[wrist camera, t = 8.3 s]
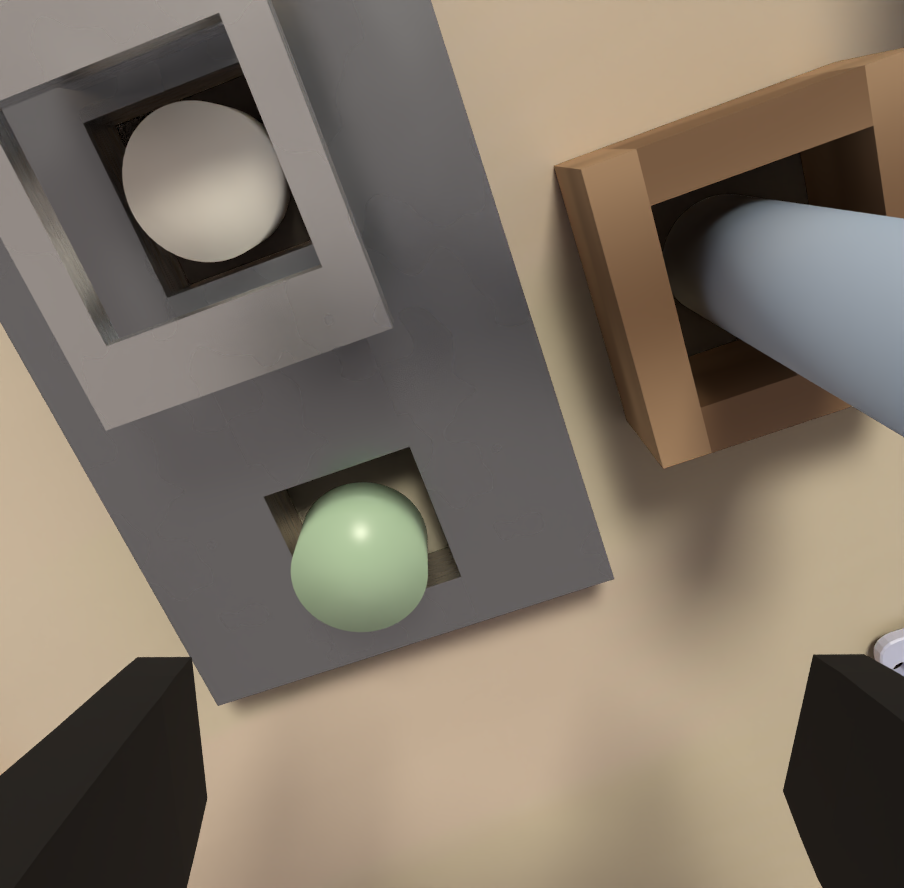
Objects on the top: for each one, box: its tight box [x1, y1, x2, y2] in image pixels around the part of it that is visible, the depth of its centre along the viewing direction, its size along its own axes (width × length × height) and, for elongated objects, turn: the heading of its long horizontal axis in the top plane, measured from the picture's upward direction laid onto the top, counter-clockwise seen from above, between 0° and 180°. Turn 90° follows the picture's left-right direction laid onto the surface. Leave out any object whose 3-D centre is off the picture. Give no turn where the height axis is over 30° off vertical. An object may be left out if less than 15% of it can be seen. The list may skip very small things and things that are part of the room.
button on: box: [291, 482, 428, 632], centre depth 17 cm, size 3×3×2 cm
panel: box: [0, 0, 614, 706], centre depth 16 cm, size 14×10×5 cm
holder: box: [554, 48, 904, 469], centre depth 16 cm, size 6×6×3 cm
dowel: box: [663, 194, 904, 437], centre depth 13 cm, size 3×3×9 cm
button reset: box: [122, 101, 291, 262], centre depth 15 cm, size 3×3×2 cm
